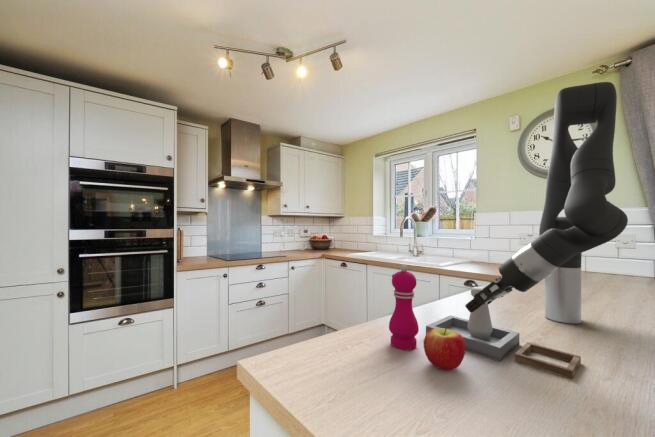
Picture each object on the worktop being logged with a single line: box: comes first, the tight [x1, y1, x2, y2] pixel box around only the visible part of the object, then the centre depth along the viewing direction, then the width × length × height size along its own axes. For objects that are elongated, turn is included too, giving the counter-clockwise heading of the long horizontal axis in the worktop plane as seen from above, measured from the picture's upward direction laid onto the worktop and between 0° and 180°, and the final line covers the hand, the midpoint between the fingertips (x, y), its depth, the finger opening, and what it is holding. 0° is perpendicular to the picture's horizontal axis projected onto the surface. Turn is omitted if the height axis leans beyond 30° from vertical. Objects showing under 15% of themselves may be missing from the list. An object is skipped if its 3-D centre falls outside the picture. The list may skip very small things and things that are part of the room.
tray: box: [425, 315, 520, 362], centre depth 76 cm, size 14×18×3 cm
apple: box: [423, 322, 466, 371], centre depth 62 cm, size 8×8×10 cm
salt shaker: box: [468, 286, 493, 340], centre depth 77 cm, size 6×6×13 cm
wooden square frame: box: [514, 341, 582, 379], centre depth 65 cm, size 10×10×2 cm
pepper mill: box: [388, 264, 420, 351], centre depth 73 cm, size 7×7×20 cm
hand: (475, 306), depth 76 cm, fingers open, 8 cm apart
